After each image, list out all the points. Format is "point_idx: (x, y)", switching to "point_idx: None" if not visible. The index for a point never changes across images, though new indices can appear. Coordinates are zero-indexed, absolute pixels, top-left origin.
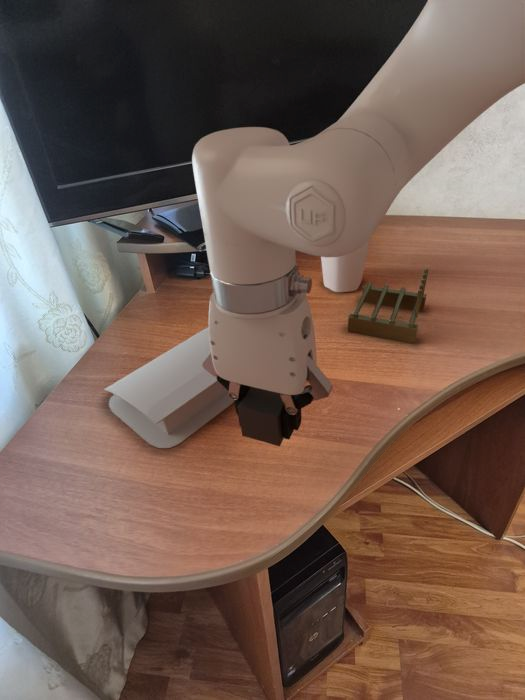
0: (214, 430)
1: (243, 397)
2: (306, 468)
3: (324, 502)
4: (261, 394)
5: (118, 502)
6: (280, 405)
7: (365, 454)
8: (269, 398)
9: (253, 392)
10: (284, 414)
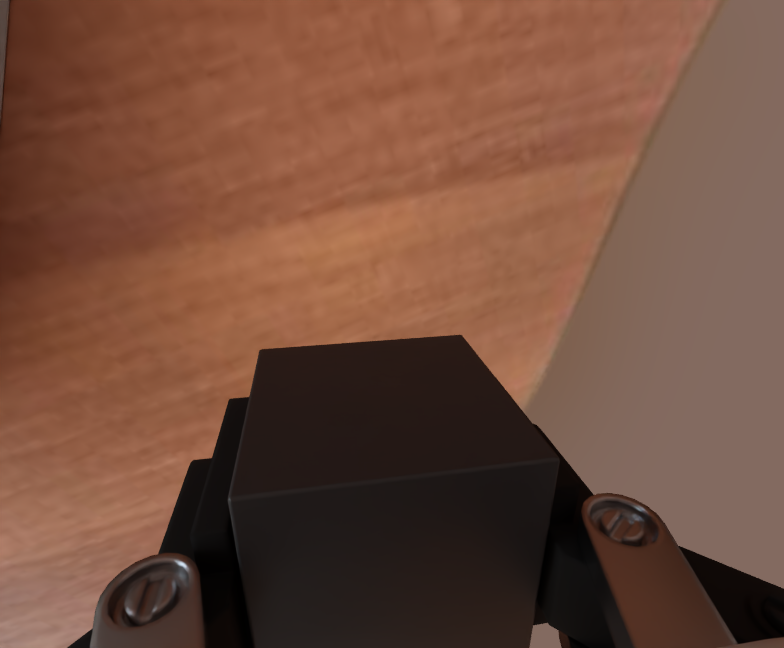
0: (55, 306)
1: (245, 646)
2: (455, 317)
3: (527, 391)
4: (363, 610)
5: (5, 629)
6: (518, 622)
7: (619, 190)
8: (431, 611)
9: (297, 617)
10: (540, 620)
